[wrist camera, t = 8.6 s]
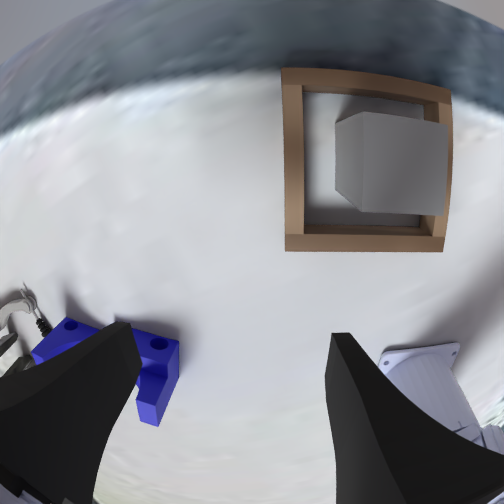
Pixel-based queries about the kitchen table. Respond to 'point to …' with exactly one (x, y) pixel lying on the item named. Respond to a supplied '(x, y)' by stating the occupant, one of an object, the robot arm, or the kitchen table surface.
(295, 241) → the brown square frame
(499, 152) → the kitchen table surface
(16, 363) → the bike brake
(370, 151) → the grey block
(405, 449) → the robot arm
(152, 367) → the cable clip
